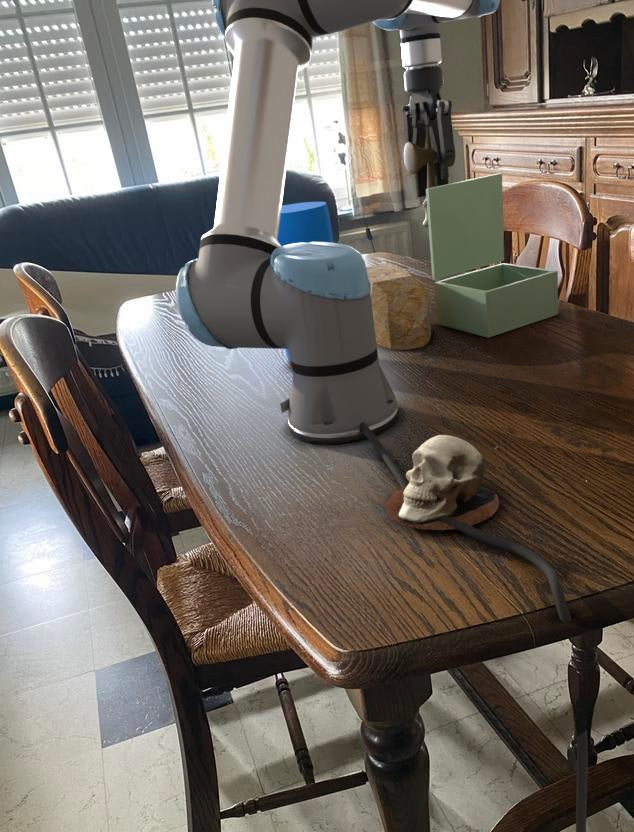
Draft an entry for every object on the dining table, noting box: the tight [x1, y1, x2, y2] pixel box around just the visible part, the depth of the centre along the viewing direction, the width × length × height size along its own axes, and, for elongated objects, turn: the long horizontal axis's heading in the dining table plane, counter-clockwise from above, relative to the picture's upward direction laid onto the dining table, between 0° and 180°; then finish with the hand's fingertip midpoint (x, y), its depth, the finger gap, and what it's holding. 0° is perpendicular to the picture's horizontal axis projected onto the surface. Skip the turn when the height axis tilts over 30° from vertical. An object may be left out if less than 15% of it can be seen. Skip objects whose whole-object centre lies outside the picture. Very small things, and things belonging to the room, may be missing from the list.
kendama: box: [403, 127, 457, 228], centre depth 153 cm, size 6×10×20 cm, turn 113°
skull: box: [384, 434, 500, 531], centre depth 79 cm, size 12×10×10 cm
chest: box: [433, 262, 559, 339], centre depth 136 cm, size 15×17×8 cm
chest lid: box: [425, 172, 505, 281], centre depth 138 cm, size 15×17×6 cm
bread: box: [366, 262, 432, 351], centre depth 142 cm, size 36×11×10 cm, turn 16°
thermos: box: [278, 201, 334, 370], centre depth 123 cm, size 11×11×25 cm
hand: (432, 196), depth 155 cm, fingers closed on kendama, 6 cm apart
